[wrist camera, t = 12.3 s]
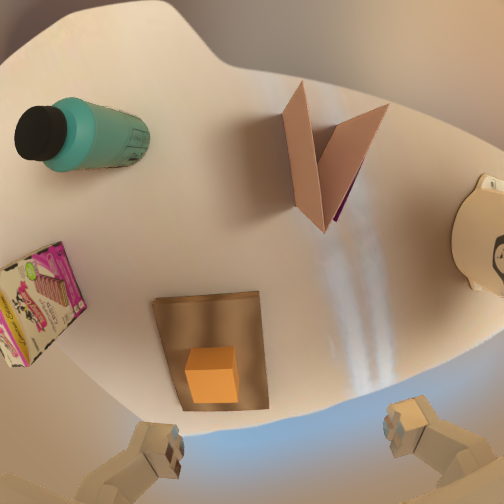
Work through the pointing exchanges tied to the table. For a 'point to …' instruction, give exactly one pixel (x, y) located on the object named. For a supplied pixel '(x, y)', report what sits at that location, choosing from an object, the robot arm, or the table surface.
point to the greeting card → (326, 159)
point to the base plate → (215, 343)
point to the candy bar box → (36, 303)
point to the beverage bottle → (80, 136)
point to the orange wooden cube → (213, 375)
